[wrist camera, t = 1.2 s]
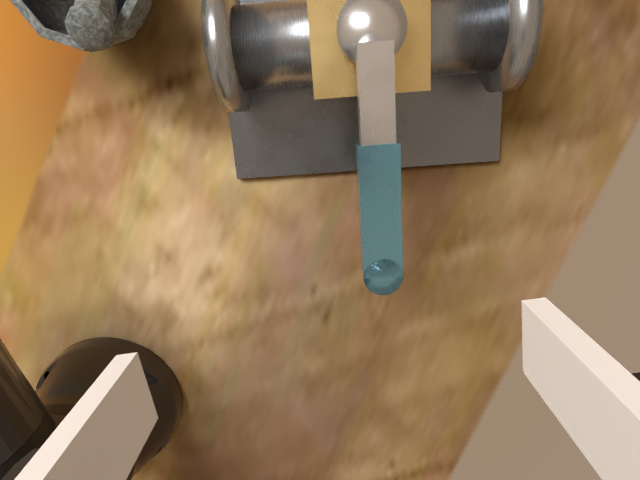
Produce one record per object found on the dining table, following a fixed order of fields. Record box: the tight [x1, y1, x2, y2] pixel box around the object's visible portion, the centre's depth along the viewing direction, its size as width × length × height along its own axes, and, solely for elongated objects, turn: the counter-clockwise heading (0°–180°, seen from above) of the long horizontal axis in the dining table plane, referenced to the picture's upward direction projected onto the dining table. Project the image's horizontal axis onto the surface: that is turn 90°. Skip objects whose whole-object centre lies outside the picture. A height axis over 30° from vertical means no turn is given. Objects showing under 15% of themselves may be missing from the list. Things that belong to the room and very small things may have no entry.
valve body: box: [201, 0, 543, 179], centre depth 34 cm, size 24×15×10 cm, turn 94°
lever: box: [336, 0, 407, 295], centre depth 30 cm, size 4×20×4 cm, turn 4°
